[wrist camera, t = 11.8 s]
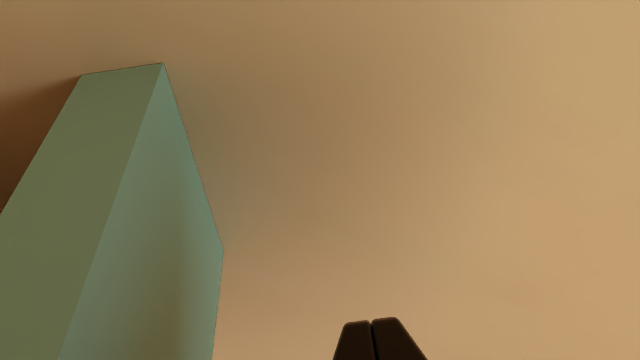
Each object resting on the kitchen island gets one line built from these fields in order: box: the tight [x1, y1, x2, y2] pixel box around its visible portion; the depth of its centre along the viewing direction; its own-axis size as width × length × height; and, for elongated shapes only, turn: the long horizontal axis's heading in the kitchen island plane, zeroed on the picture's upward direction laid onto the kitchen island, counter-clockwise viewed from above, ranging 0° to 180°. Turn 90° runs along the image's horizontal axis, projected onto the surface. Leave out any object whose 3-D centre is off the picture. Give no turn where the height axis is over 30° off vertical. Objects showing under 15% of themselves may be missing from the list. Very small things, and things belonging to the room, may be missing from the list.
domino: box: [0, 63, 224, 360], centre depth 10 cm, size 5×2×8 cm, turn 8°
